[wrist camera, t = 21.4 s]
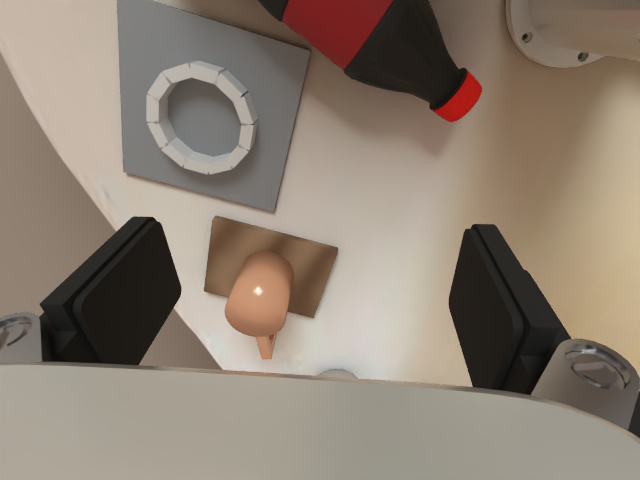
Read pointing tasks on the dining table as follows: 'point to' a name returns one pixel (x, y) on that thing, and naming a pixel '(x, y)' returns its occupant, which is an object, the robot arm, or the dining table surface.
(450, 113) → the cola bottle
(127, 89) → the squash holder
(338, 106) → the dining table surface
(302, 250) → the walnut board
